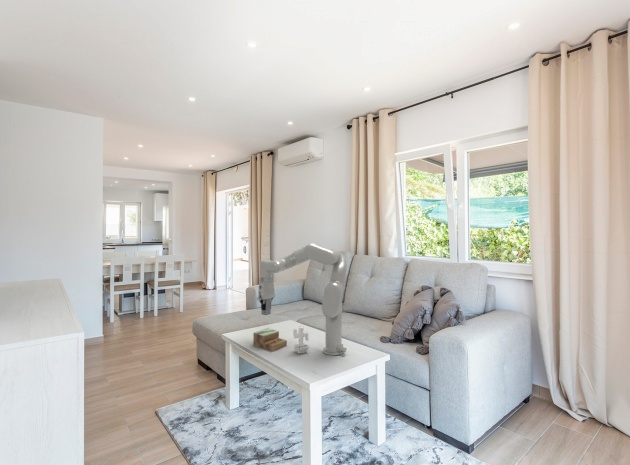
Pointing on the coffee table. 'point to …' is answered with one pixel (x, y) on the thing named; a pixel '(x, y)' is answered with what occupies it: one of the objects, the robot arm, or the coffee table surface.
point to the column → (267, 307)
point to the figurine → (300, 340)
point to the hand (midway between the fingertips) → (266, 308)
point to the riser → (269, 340)
